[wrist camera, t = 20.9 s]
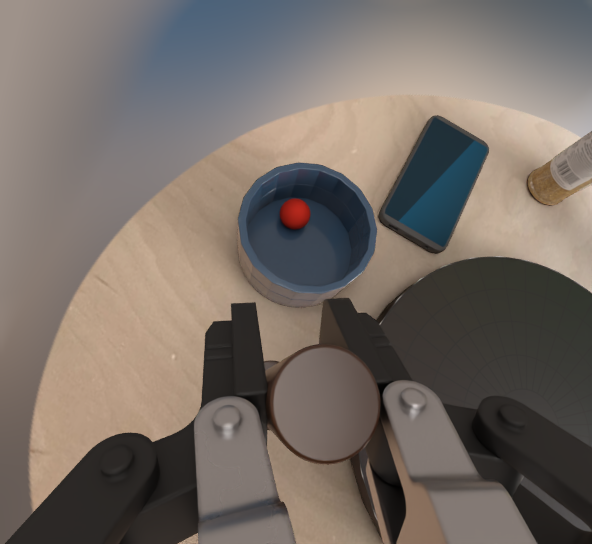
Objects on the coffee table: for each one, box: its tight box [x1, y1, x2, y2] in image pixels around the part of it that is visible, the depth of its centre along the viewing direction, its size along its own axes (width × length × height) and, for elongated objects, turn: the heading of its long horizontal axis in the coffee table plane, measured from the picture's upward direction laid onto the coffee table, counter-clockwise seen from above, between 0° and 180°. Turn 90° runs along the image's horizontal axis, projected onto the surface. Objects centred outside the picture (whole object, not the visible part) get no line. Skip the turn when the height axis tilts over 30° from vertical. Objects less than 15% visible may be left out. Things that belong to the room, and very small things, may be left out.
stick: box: [264, 344, 380, 465], centre depth 13 cm, size 3×3×12 cm
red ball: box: [280, 198, 310, 229], centre depth 34 cm, size 3×3×3 cm
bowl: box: [237, 163, 377, 307], centre depth 33 cm, size 11×11×6 cm
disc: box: [351, 256, 592, 538], centre depth 33 cm, size 30×30×3 cm
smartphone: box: [379, 115, 489, 253], centre depth 40 cm, size 8×15×1 cm, turn 151°
